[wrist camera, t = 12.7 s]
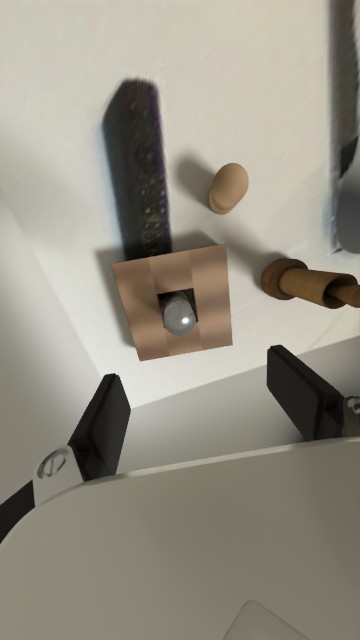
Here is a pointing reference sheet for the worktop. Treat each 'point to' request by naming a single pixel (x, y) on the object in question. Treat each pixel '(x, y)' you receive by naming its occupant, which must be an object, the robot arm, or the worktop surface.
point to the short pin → (228, 188)
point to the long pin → (178, 314)
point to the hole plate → (171, 275)
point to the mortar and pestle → (310, 284)
